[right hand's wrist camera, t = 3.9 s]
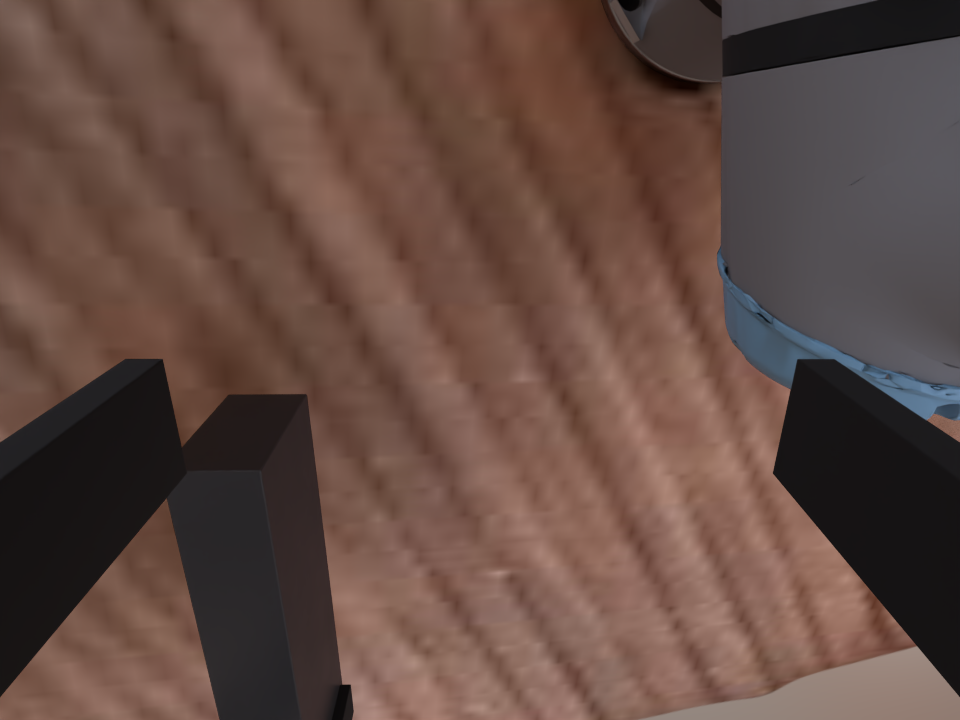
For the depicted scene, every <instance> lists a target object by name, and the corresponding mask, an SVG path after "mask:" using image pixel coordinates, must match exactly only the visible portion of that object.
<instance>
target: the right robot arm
mask: <svg viewBox="0 0 960 720" xmlns="http://www.w3.org/2000/svg"><path fill="white" fill-rule="evenodd" d="M601 1H602V4H603V7H604V10H605V12H606V15H607V17H608V19H609V21H610V23H611V25H612V27H613V29H614V30H615V32H616V33H617V35H618V37H619V38H620V39H621V41H622V42H623V43H624V45H625V46H626V47H627V48H628V49H629V50H630V51H631V52H632V53H633V54H634V55H635V56H636V57H637V58H638V59H639V60H640V61H642V62H643V63H644V64H645V65H647V66H649V67H650V68H652V69H653V70H655V71H657V72H659V73H661V74H663V75H665V76H668V77H670V78H673V79H676V80H680V81H684V82H690V83H698V84H712V83H722V129H721V247H720V249H719V251H718V253H717V265H718V269H719V273H720V275H721V277H722V279H723V290H724V308H725V322H726V327H727V330H728V334H729V336H730V338H731V340H732V342H733V343H734V345H735V346H736V347H737V348H738V349H739V350H740V351H741V352H742V354H743V355H744V356H745V358H746V360H747V361H748V362H749V363H750V364H751V365H752V366H754V367H755V368H756V369H758V370H759V371H760V372H762V373H763V374H765V375H766V376H767V377H769V378H771V379H772V380H774V381H776V382H777V383H779V384H781V385H783V386H785V387H787V388H789V389H791V391H790V396H789V401H788V405H787V410H786V415H785V419H784V424H783V429H782V433H781V438H780V443H779V447H778V452H777V457H776V461H775V466H774V471H773V474H774V475H775V476H776V478H777V479H778V480H779V481H780V482H781V484H782V485H783V486H784V487H785V488H786V490H787V491H788V492H789V493H790V494H791V496H792V497H793V498H794V499H795V500H796V502H797V503H798V504H799V505H800V506H801V508H802V509H803V510H804V511H805V512H806V514H807V515H808V516H809V517H810V518H811V520H812V521H813V522H814V523H815V524H816V526H817V527H818V528H819V529H820V530H821V532H822V533H823V534H824V535H825V536H826V537H827V539H828V540H829V541H830V542H831V543H832V545H833V546H834V547H835V548H836V549H837V551H838V552H839V553H840V554H841V555H842V557H843V558H844V559H845V560H846V561H847V563H848V564H849V565H850V566H851V567H852V569H853V570H854V571H855V572H856V573H857V575H858V576H859V577H860V578H861V579H862V581H863V582H864V583H865V584H866V585H867V587H868V588H869V589H870V590H871V591H872V593H873V594H874V595H875V596H876V597H877V599H878V600H879V601H880V602H881V603H882V604H883V606H884V607H885V608H886V609H887V610H888V612H889V613H890V614H891V615H892V616H893V618H894V619H895V620H896V621H897V622H898V624H899V625H900V626H901V627H902V628H903V630H904V631H905V632H906V633H907V634H908V636H909V637H910V638H911V639H912V640H913V642H914V643H915V644H916V645H917V646H918V648H919V649H920V650H921V651H922V652H923V654H924V655H925V656H926V657H927V658H928V660H929V661H930V662H931V663H932V664H933V666H934V667H935V668H936V669H937V670H938V671H939V673H940V674H941V675H942V676H943V677H944V679H945V680H946V681H947V682H948V683H949V685H950V686H951V687H952V688H953V689H954V691H955V692H956V693H957V694H958V695H959V697H960V442H958V441H957V440H955V439H954V438H952V437H951V436H949V435H948V434H946V433H945V432H943V431H942V430H940V429H939V428H937V427H936V426H934V425H933V424H931V423H930V422H928V421H927V419H929V418H930V417H931V416H932V415H933V414H938V415H940V416H943V417H946V418H948V419H951V420H960V0H601ZM186 474H187V471H186V466H185V461H184V457H183V452H182V447H181V443H180V438H179V433H178V429H177V424H176V419H175V415H174V410H173V405H172V401H171V396H170V391H169V387H168V382H167V377H166V372H165V368H164V363H163V359H125V360H123V361H122V362H120V363H119V364H117V365H116V366H114V367H113V368H111V369H110V370H108V371H107V372H105V373H104V374H102V375H101V376H99V377H98V378H96V379H95V380H93V381H92V382H90V383H89V384H87V385H86V386H84V387H83V388H81V389H80V390H78V391H77V392H75V393H74V394H72V395H71V396H69V397H68V398H66V399H65V400H63V401H62V402H60V403H59V404H57V405H56V406H54V407H53V408H51V409H50V410H48V411H47V412H45V413H44V414H42V415H41V416H39V417H38V418H36V419H35V420H33V421H32V422H30V423H29V424H27V425H26V426H24V427H23V428H21V429H20V430H18V431H17V432H15V433H14V434H12V435H11V436H9V437H8V438H6V439H5V440H3V441H2V442H0V697H1V695H2V694H3V693H4V692H5V691H6V689H7V688H8V687H9V686H10V685H11V683H12V682H13V681H14V680H15V679H16V677H17V676H18V675H19V674H20V673H21V671H22V670H23V669H24V668H25V667H26V666H27V664H28V663H29V662H30V661H31V660H32V658H33V657H34V656H35V655H36V654H37V652H38V651H39V650H40V649H41V648H42V646H43V645H44V644H45V643H46V642H47V640H48V639H49V638H50V637H51V636H52V634H53V633H54V632H55V631H56V630H57V628H58V627H59V626H60V625H61V624H62V622H63V621H64V620H65V619H66V618H67V616H68V615H69V614H70V613H71V612H72V610H73V609H74V608H75V607H76V606H77V604H78V603H79V602H80V601H81V600H82V599H83V597H84V596H85V595H86V594H87V593H88V591H89V590H90V589H91V588H92V587H93V585H94V584H95V583H96V582H97V581H98V579H99V578H100V577H101V576H102V575H103V573H104V572H105V571H106V570H107V569H108V567H109V566H110V565H111V564H112V563H113V561H114V560H115V559H116V558H117V557H118V555H119V554H120V553H121V552H122V551H123V549H124V548H125V547H126V546H127V545H128V543H129V542H130V541H131V540H132V539H133V537H134V536H135V535H136V534H137V533H138V532H139V530H140V529H141V528H142V527H143V526H144V524H145V523H146V522H147V521H148V520H149V518H150V517H151V516H152V515H153V514H154V512H155V511H156V510H157V509H158V508H159V506H160V505H161V504H162V503H163V502H164V500H165V499H166V498H167V497H168V496H169V494H170V493H171V492H172V491H173V490H174V488H175V487H176V486H177V485H178V484H179V482H180V481H181V480H182V479H183V478H184V476H185V475H186Z"/></svg>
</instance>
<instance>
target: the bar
mask: <svg viewBox="0 0 960 720" xmlns="http://www.w3.org/2000/svg"><path fill="white" fill-rule="evenodd" d="M182 452H183V457H184V461H185V466H186V471H187V474H186V475H185V476H184V478H183V479H182V480H181V481H180V482H179V484H178V485H177V486H176V487H175V488H174V490H173V491H172V492H171V493H170V494H169V496H168V497H167V501H168V505H169V509H170V513H171V518H172V522H173V526H174V530H175V534H176V539H177V543H178V547H179V551H180V555H181V560H182V564H183V568H184V572H185V576H186V581H187V585H188V589H189V593H190V597H191V602H192V606H193V610H194V614H195V618H196V623H197V627H198V631H199V635H200V639H201V644H202V648H203V652H204V656H205V660H206V665H207V669H208V673H209V677H210V681H211V686H212V690H213V694H214V698H215V703H216V707H217V711H218V715H219V719H220V720H332V717H333V713H334V709H335V705H336V700H337V696H338V692H339V688H340V685H342V678H341V670H340V662H339V654H338V646H337V638H336V629H335V621H334V613H333V605H332V597H331V588H330V580H329V572H328V564H327V556H326V547H325V539H324V531H323V523H322V515H321V506H320V498H319V490H318V482H317V474H316V466H315V457H314V449H313V441H312V433H311V425H310V416H309V408H308V400H307V395H306V394H274V395H228V396H227V397H226V398H225V399H224V401H223V402H222V403H221V404H220V405H219V406H218V407H217V408H216V410H215V411H214V412H213V413H212V414H211V415H210V416H209V418H208V419H207V420H206V421H205V422H204V423H203V424H202V425H201V427H200V428H199V429H198V430H197V431H196V432H195V433H194V434H193V436H192V437H191V438H190V439H189V440H188V441H187V442H186V444H185V445H184V446H183V447H182Z"/></svg>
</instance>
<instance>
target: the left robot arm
mask: <svg viewBox="0 0 960 720" xmlns="http://www.w3.org/2000/svg"><path fill="white" fill-rule="evenodd" d="M353 712H354V710H353V701H352V693H351V685H340V688H339V692H338V696H337V700H336V705H335V709H334V713H333V717H332V720H352V717H353Z"/></svg>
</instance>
